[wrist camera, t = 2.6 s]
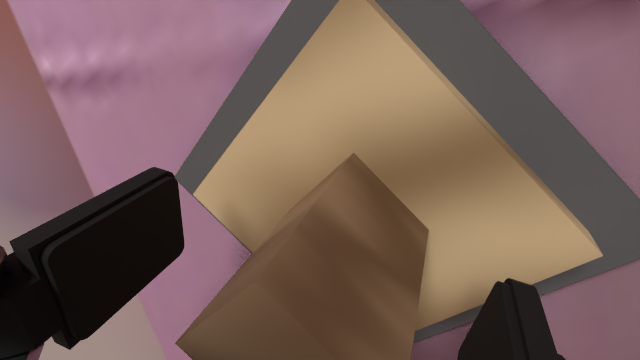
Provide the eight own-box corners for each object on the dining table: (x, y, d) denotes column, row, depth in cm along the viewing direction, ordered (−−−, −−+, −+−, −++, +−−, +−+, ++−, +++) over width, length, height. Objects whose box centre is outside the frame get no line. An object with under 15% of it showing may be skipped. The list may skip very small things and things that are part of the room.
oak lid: (589, 231, 10) (784, 557, 4) (363, 332, 15) (302, 533, 9) (362, -13, 9) (192, -60, 3) (210, 182, 15) (41, 296, 9)
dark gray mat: (671, 235, 10) (679, 243, 9) (364, 355, 17) (363, 362, 16) (366, -103, 9) (362, -108, 8) (179, 174, 16) (174, 177, 16)
